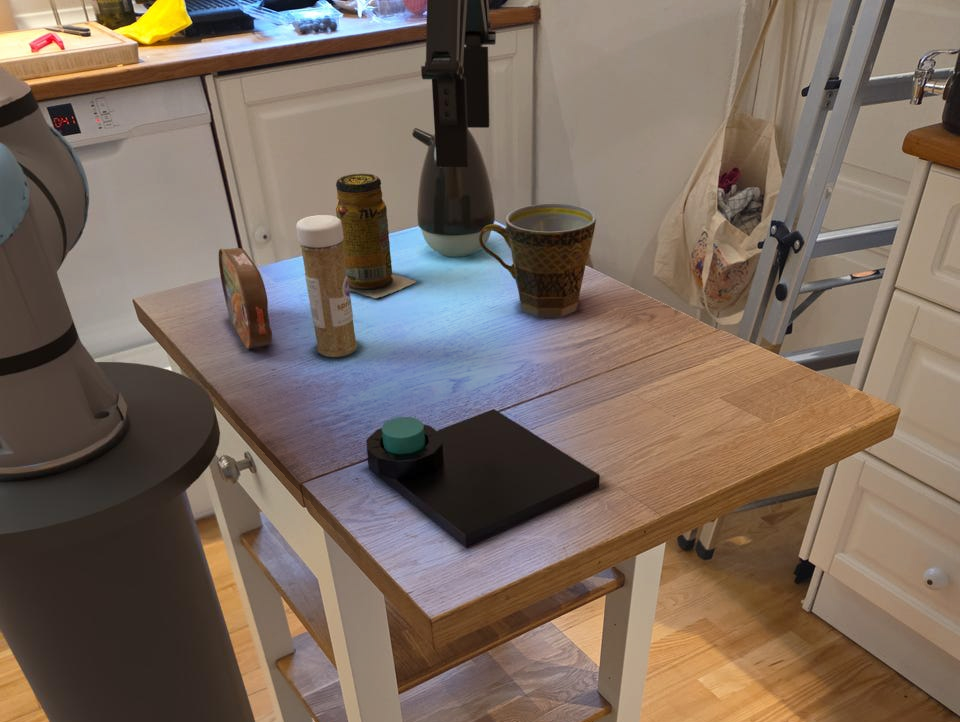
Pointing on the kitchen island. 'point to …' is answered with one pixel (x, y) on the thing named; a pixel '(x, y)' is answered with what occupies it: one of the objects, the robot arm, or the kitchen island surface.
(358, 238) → the condiment
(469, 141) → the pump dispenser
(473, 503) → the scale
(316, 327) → the spice jar
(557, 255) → the ceramic cup
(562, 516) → the kitchen island surface
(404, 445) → the button
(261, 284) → the tin
